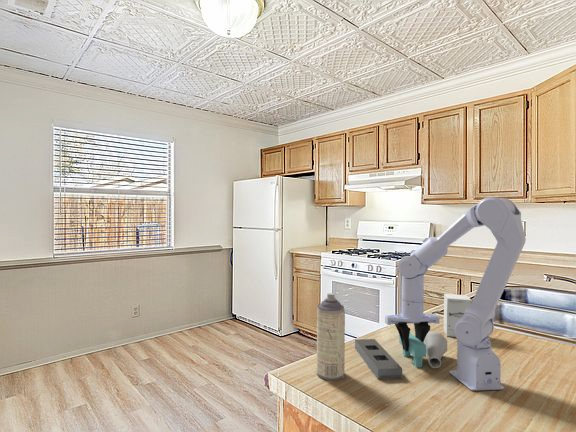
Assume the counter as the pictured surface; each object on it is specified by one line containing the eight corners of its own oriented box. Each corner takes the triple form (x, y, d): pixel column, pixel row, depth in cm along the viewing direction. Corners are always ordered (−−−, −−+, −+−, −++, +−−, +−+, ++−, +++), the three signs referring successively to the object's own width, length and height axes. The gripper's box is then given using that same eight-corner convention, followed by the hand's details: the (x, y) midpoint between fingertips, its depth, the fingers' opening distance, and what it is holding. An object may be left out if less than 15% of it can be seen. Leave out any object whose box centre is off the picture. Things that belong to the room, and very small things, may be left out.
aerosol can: (349, 377, 88) (350, 295, 87) (325, 382, 85) (326, 298, 84) (334, 366, 94) (335, 289, 94) (311, 371, 91) (312, 292, 91)
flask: (443, 328, 100) (444, 348, 91) (451, 352, 101) (454, 373, 91) (416, 333, 103) (416, 352, 94) (425, 355, 103) (425, 377, 94)
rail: (402, 378, 87) (402, 368, 87) (377, 379, 87) (378, 369, 86) (374, 347, 107) (374, 339, 107) (354, 348, 106) (354, 339, 106)
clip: (425, 368, 93) (426, 345, 93) (414, 368, 93) (414, 345, 92) (409, 353, 103) (409, 332, 103) (399, 353, 103) (399, 332, 102)
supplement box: (446, 336, 116) (446, 297, 116) (443, 329, 123) (443, 293, 123) (471, 339, 114) (471, 299, 114) (466, 331, 121) (467, 294, 121)
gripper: (430, 295, 102) (430, 343, 102) (381, 296, 101) (380, 345, 101) (443, 302, 95) (443, 353, 95) (390, 303, 94) (390, 355, 94)
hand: (411, 349), depth 98 cm, fingers closed on clip, 3 cm apart
